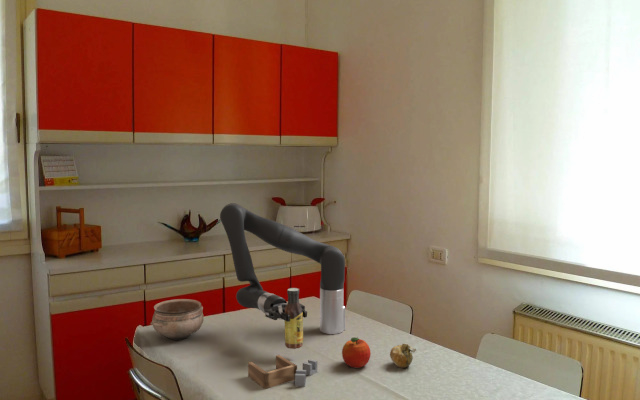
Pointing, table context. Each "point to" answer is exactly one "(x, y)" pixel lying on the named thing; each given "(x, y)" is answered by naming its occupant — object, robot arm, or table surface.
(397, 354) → the onion
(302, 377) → the clip
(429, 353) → the table surface
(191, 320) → the cooking pot
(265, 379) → the frame
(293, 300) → the sauce bottle
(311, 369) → the clip
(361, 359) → the fruit
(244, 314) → the table surface
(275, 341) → the table surface
